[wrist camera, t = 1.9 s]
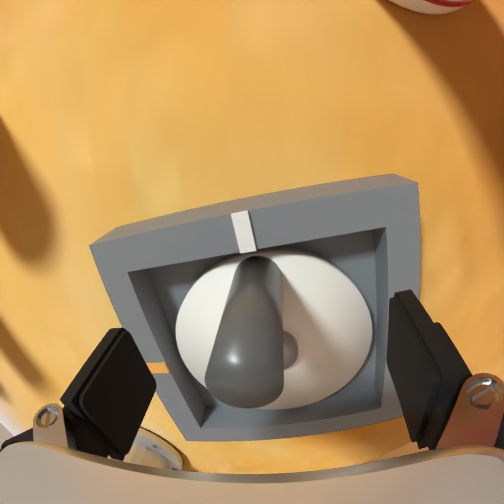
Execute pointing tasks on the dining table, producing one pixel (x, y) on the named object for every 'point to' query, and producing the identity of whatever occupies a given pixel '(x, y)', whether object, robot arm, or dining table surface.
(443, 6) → the fruit juice
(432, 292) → the dining table surface
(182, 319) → the dial
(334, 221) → the housing
